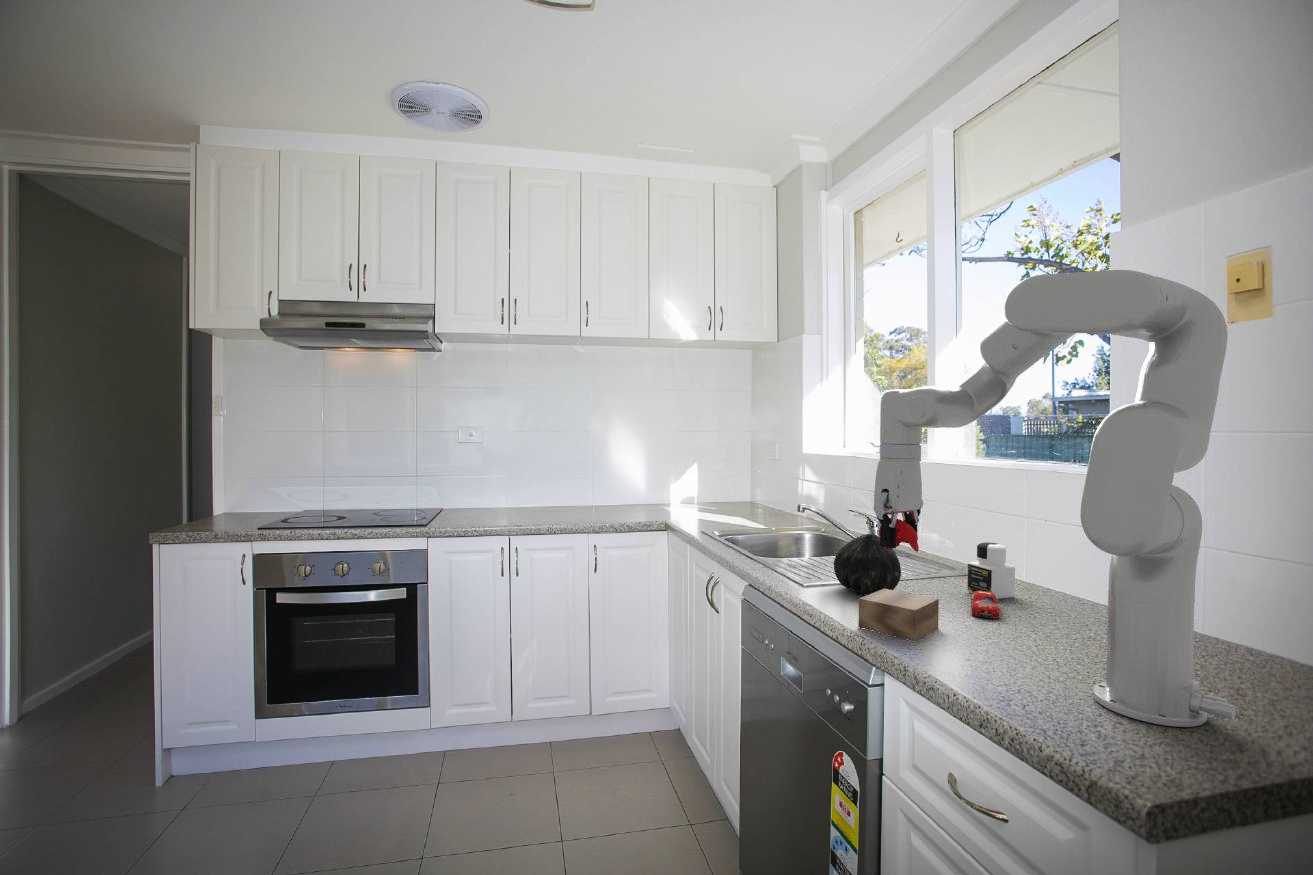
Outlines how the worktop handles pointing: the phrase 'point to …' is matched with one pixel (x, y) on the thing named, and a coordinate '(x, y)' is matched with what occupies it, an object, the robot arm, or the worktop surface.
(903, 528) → the red rounded piece
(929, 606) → the walnut block
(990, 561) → the medicine bottle
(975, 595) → the race car
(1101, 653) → the worktop surface
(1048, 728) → the worktop surface
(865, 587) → the squash
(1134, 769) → the worktop surface
